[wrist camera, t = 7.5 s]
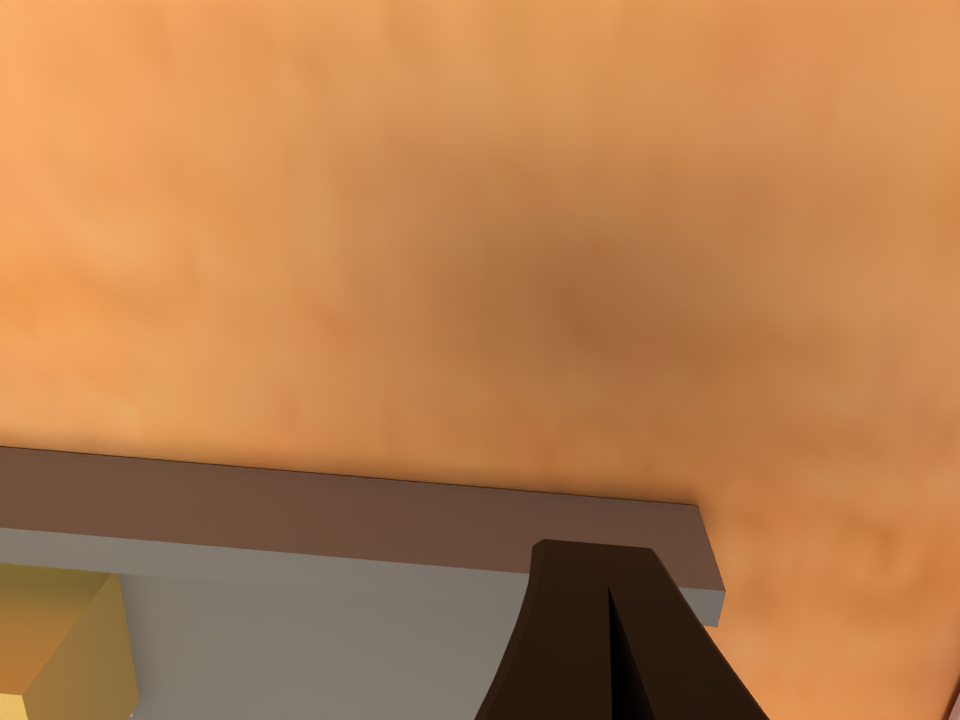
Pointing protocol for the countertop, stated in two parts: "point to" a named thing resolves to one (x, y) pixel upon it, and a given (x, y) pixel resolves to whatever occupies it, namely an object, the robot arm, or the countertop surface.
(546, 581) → the robot arm
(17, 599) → the block
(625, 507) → the trap tray
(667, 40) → the countertop surface
